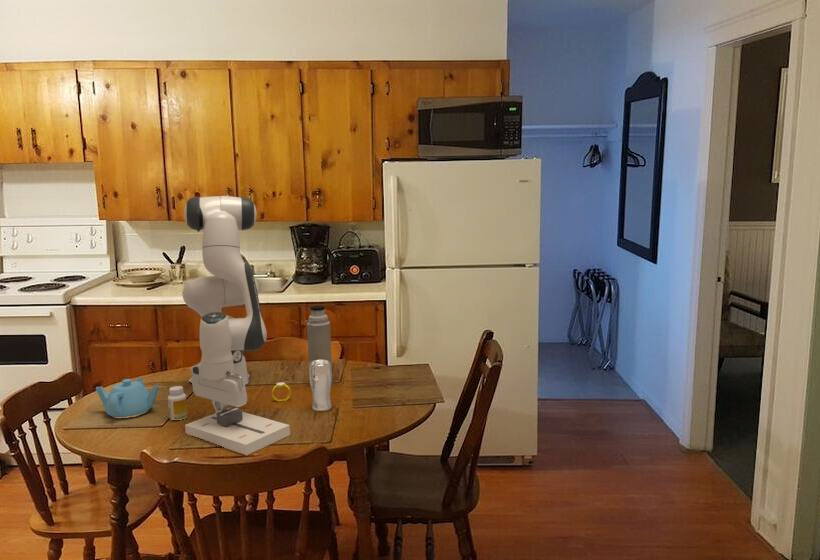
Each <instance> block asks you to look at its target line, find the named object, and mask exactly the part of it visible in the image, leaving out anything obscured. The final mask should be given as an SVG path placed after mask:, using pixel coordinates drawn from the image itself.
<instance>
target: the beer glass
mask: <svg viewBox="0 0 820 560" xmlns="http://www.w3.org/2000/svg"><path fill="white" fill-rule="evenodd" d="M308 372H309V373H308V375H309V378H308V379H309V386H310V385H311V386H310V388H311V392H312V410H313V411H315V412H326V411H329V410H331V409H332V407H333V406H332V402H331V387H332V385H331V380H332V379H333V372H332V373H331V365H330V361H329V360H324V359H320V360H314V361H311V362H310V363H309V362H308Z"/></svg>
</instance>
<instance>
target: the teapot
mask: <svg viewBox="0 0 820 560" xmlns="http://www.w3.org/2000/svg"><path fill="white" fill-rule="evenodd" d="M143 380H144V378H143V377H137V378H136V380H135V381H134V380H133V381H132V379H131V378H125V379H122V381H121V382H120V383H119V382H118V383H117V384H115V385H114V386H112V388H111V390H110V391H109V392H108V391H107V390H106V389H104V387H103V386H96V387H95V390H96V392H97V394H98V397H99V399H100V400H101V402H102V404H103V406H104V410H105V414H107V415H108V416H109V415H110V416H109V417H111V416H113V417H127V416H133V415H138V414H141V413H144V412H146V411H148V410H149V409H150V408H151V409H152V407H153V405H154V404H155V401H156V399H157V395H158V392H159V388H160V386H159V385H153V386H152V388H151V391H150V392H149V390H148V388H146V386H145V385H144V381H143ZM151 409H150V410H151ZM150 410H149V411H150ZM149 411H148V412H149Z"/></svg>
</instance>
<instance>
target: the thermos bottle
mask: <svg viewBox="0 0 820 560" xmlns="http://www.w3.org/2000/svg"><path fill="white" fill-rule="evenodd" d="M309 308H310V314H309V316H308V321H307V322H306V335H307V336H306V337H307V338H306V339H307V352H308V364H309V363H310V362H311V361H314V360H320V359H324V360H329V361H330V365H331V373H332V374H333V363H332V362H333V361H332V360H333V359H332V341H331V340H332V339H331V338H332V337H331V322H330V321H329V320H328V319H329V316H328V315H327V314H326V310H325V309H326V308H325V306H324V305H313V306H311V307H309ZM333 382H334V381H333V378H332V380H331V386H333ZM309 386H310V387H311V385H310V384H309Z"/></svg>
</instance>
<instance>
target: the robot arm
mask: <svg viewBox="0 0 820 560" xmlns="http://www.w3.org/2000/svg"><path fill="white" fill-rule="evenodd" d="M184 205H185V206H184V209H183V217H184V220H185V222H186V226H187V227H189V228H190V229H191V230H194V231H197V232H198V233H200V231H203V232H202V243H201V245H202V247H201V248H202V249H201V251H202V261H203V265H204V267H205V269H206V270H207V272H208V273H210V275H211V276H202V277H201V276H200V277H198V278H194V279H191V280H188V281H186V283H185V284H184V286H183V289H182V299H183V301H184V303H185V305H186V306H188V308H190V309H192V310H193V311H195V312H196V313H197V314H198V315H199V316H200V317H201V318H200V323H199V347H200V350H201V357H200V362H198V363H197V364H194V365H193V366H191V367H190V371H191V374H192V376H191V377H190V378H189V379H188V383H189V382H191V383H192V390H193V393H194V395H195V396H196V397H199V398H203V399H207V400H210V401H211V403H212V406H213V408H214V410H215V413H216V414H217V413H219V412H222V411H224V410H227V408H229V406H231V407H234V408H240V407H242V406H245V405H246V404H247V402H248V395H247V388H246V385H248V384H249V381H250V380H249V379H250V374H249V373H248V369H247V363H246V362H247V361H246V357H245V355H244V353H245V352H244V351H246V352H247V351H248V352H250V351H251V352H256V351H259V350H260V349H261V348H262V347H263V346H264V345H265V344H266V342H267V335H268V334H267V328H266V326H265V325H266V324H265V322H264V319H263V313H262V310H261V304H260V300H259V293H260V284H259V283H258V282H259V281H258V280H257V278H255V276H254V273H253V269H252V268H251V266H250V264H248V263H245V261H244V259H243V258H242V257H243V256H242V254H241V242H240V241H241V239H240V232H239V230H241V231H246V230H249V229H251V228H253V227H254V226H255V222H256V221H257V215H258V213H257V207H256V205H255V203H254V201H253V200H252V199H251V198H249V197H246V196H245V197H244V196H241V197H238V196H231V195H220V196H217V195H215V196H201V197H200V196H194V197H190V198H188V199H187V200H186V204H184ZM243 305H244V306H245V310H246V316H245V317H237V318H235V317H233V316H230V315H227V314H226V313H225V312H223V311H222V308H225V307H226V308H227V307H234V306H235V307H236V306H243ZM191 383H190V384H191Z"/></svg>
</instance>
